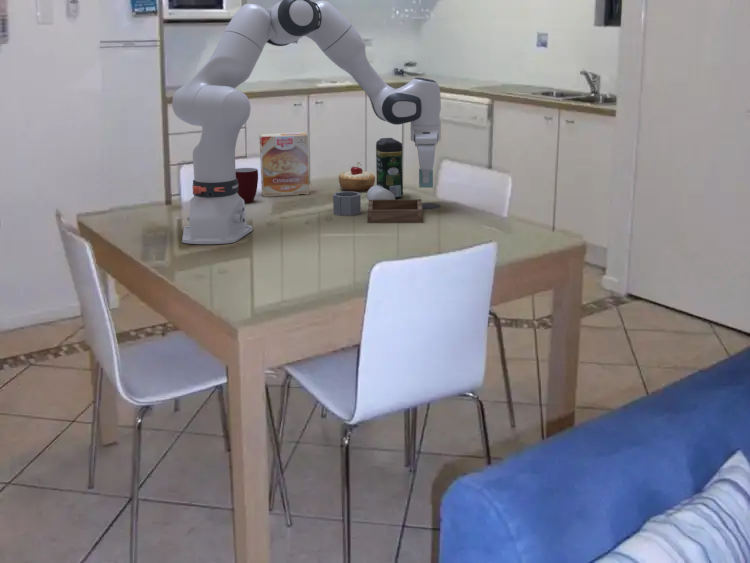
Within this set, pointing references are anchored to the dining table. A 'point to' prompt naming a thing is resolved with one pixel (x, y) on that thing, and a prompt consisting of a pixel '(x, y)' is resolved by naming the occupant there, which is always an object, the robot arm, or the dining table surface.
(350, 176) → the pastry
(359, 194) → the stoneware cup
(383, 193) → the white rounded lump
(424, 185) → the block
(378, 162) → the coffee jar
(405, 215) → the walnut box
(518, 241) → the dining table surface
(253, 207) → the dining table surface
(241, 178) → the mug
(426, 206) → the coaster
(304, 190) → the coffeecake box
